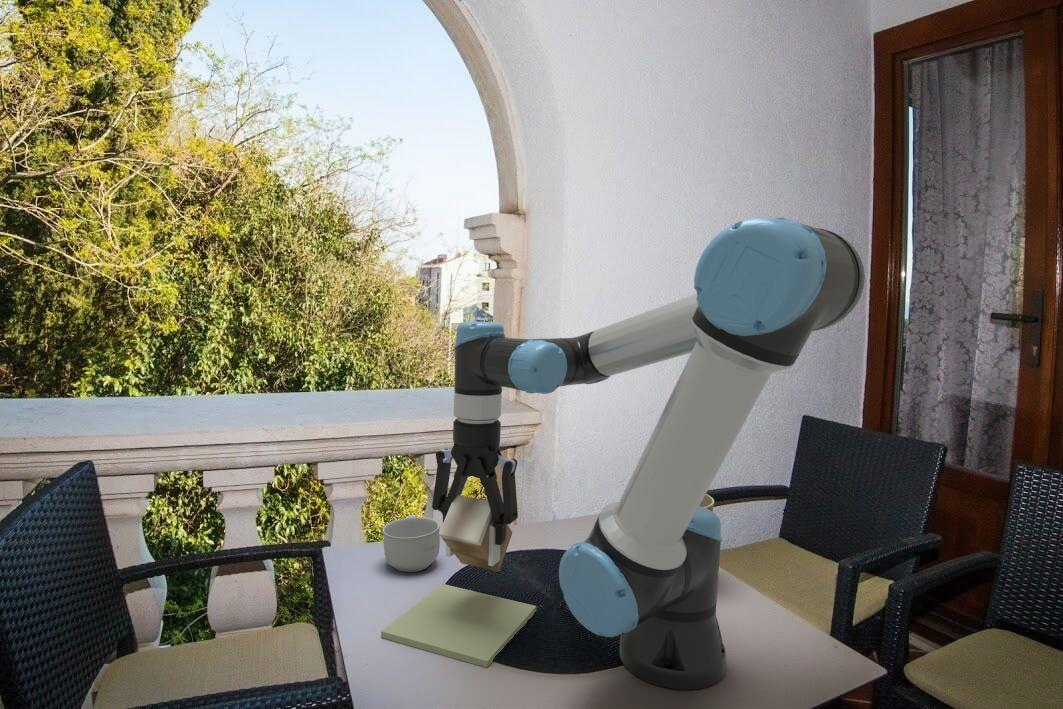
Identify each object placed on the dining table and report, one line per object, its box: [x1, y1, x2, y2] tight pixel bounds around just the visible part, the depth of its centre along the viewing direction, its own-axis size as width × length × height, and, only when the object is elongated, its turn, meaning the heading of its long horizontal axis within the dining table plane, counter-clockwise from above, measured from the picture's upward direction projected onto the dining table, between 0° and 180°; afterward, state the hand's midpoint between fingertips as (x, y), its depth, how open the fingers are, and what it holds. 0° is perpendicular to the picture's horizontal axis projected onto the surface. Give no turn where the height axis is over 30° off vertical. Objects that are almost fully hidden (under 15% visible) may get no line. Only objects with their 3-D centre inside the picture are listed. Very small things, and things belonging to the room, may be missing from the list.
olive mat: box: [380, 583, 537, 668], centre depth 102 cm, size 18×18×1 cm
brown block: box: [439, 494, 513, 573], centre depth 105 cm, size 7×7×11 cm
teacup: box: [381, 514, 441, 573], centre depth 124 cm, size 14×11×8 cm
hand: (472, 557), depth 104 cm, fingers closed on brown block, 7 cm apart
